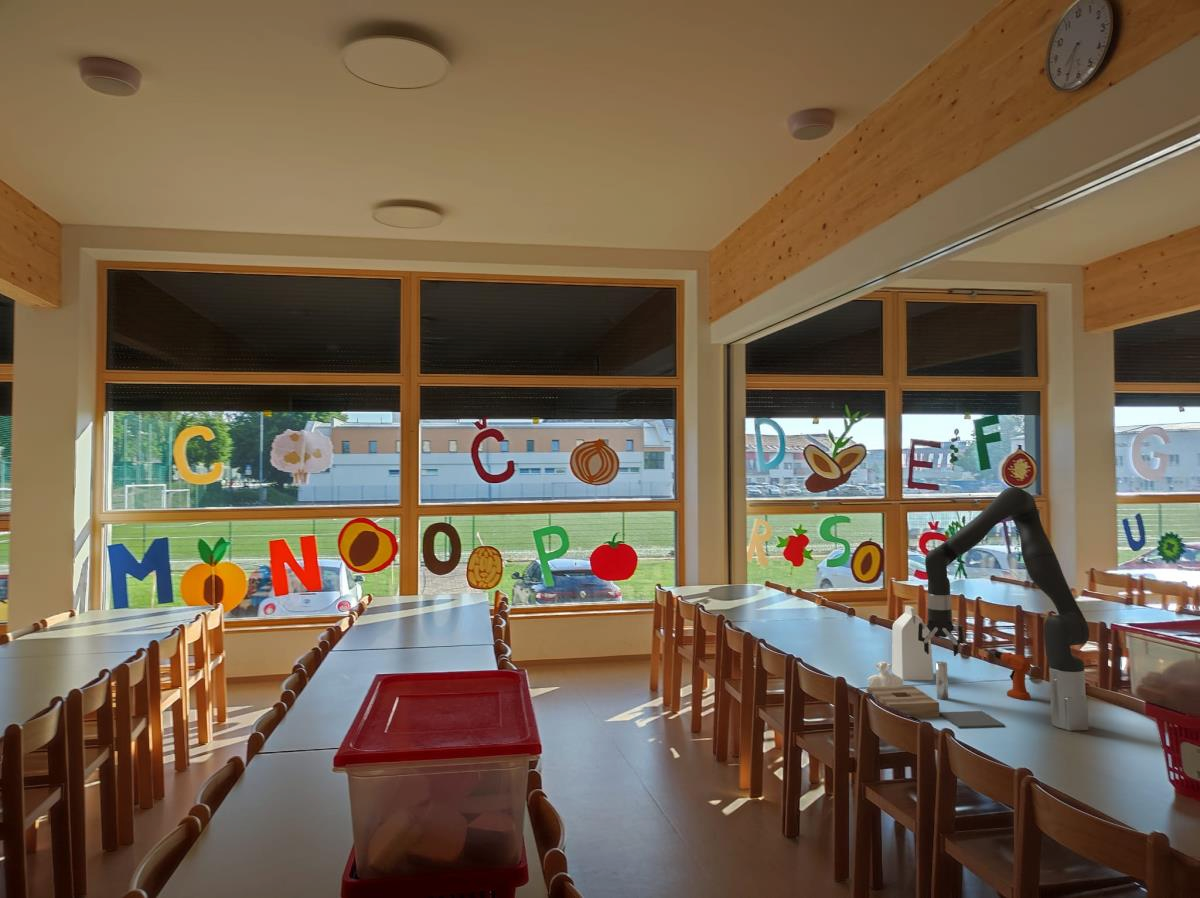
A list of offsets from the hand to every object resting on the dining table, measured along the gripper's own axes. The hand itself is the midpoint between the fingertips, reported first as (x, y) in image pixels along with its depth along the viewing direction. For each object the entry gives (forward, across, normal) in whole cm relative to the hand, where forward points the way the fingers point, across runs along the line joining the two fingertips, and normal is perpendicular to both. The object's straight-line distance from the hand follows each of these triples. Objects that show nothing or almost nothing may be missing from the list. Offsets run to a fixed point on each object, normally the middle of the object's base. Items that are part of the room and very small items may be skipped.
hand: (941, 654), depth 270 cm
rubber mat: (+14, -8, +23) cm, 28 cm away
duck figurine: (+15, +19, -2) cm, 24 cm away
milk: (+15, +11, -28) cm, 33 cm away
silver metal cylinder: (+15, 0, 0) cm, 15 cm away
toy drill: (+15, -20, -12) cm, 28 cm away
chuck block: (+15, +12, +17) cm, 26 cm away
